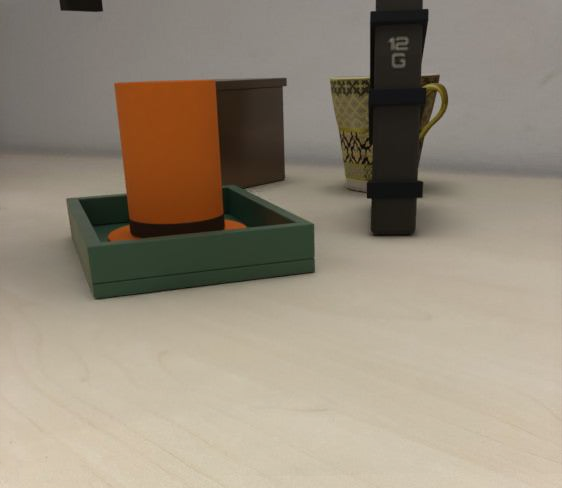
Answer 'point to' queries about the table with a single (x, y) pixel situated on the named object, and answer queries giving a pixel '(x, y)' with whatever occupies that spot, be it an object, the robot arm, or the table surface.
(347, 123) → the ceramic cup
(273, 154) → the stand
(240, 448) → the table surface
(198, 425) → the table surface
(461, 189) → the table surface
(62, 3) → the robot arm
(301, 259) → the tray
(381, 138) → the magazine
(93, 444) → the table surface
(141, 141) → the hat
